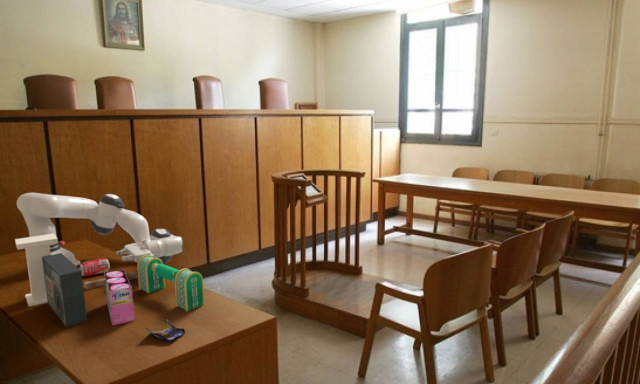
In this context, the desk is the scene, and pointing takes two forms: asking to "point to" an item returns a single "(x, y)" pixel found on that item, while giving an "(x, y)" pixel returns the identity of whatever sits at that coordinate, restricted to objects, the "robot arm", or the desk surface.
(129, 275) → the brown block
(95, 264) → the soda can
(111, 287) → the gum box
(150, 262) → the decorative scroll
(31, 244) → the stand
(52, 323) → the desk surface
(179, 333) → the snack package
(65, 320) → the cassette player
